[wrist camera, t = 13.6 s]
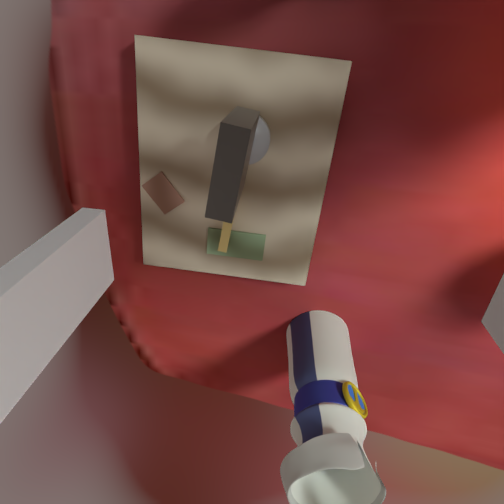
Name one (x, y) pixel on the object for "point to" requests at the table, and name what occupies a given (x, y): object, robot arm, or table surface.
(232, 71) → the dial board
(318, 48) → the table surface
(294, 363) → the water bottle
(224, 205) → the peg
